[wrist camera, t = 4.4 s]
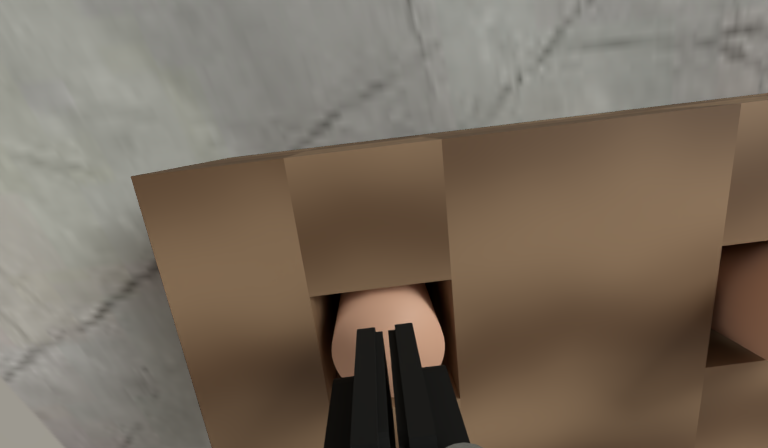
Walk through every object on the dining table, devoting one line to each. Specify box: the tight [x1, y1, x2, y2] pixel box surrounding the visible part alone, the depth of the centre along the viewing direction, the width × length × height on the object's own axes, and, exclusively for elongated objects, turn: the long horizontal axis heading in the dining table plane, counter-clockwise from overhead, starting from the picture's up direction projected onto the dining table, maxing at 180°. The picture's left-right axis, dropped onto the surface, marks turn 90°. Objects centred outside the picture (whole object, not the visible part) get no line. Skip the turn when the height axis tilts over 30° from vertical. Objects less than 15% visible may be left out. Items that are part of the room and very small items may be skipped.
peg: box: [332, 283, 445, 397], centre depth 16 cm, size 4×4×8 cm
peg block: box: [131, 93, 768, 448], centre depth 16 cm, size 14×28×8 cm, turn 97°
